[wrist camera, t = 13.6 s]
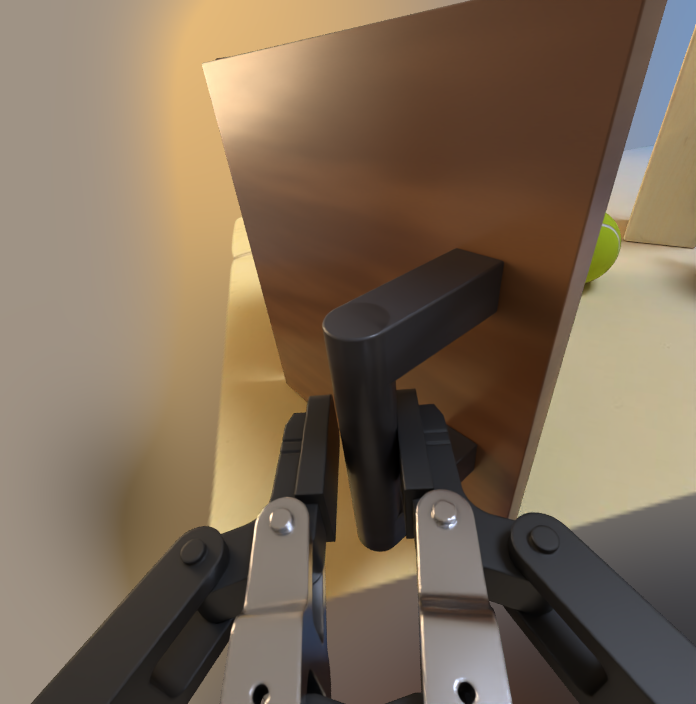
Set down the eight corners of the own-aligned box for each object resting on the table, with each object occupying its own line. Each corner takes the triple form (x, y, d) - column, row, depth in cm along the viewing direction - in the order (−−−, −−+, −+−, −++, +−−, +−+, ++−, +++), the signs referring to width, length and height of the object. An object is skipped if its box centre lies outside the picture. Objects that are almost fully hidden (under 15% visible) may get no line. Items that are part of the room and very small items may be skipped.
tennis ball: (516, 269, 41) (528, 201, 36) (583, 262, 40) (603, 193, 36) (545, 302, 35) (562, 226, 31) (623, 294, 35) (652, 216, 31)
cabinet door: (416, 660, 15) (420, -67, 3) (223, 420, 27) (74, 75, 15) (507, 549, 18) (679, -42, 6) (297, 377, 30) (221, 61, 18)
